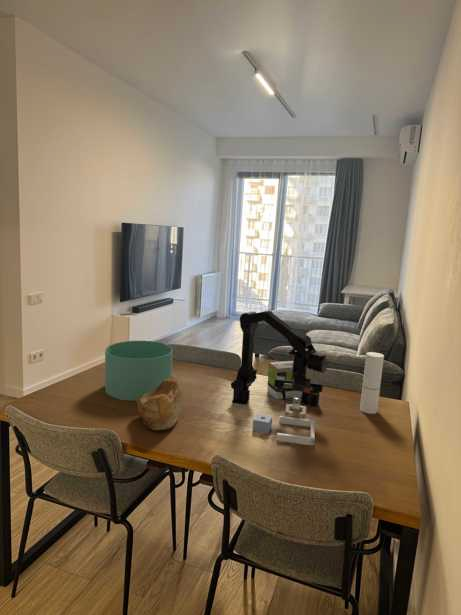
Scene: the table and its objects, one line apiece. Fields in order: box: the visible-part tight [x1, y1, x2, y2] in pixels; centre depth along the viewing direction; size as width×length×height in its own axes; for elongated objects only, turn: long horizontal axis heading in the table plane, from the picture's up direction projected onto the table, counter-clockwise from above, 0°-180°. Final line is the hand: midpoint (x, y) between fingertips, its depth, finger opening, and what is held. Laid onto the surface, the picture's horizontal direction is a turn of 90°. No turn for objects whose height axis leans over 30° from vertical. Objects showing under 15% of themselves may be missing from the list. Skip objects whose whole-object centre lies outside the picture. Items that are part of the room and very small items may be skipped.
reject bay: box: [276, 415, 316, 447], centre depth 158 cm, size 13×16×2 cm
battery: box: [300, 388, 321, 408], centre depth 185 cm, size 4×7×10 cm, turn 61°
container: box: [104, 340, 174, 402], centre depth 191 cm, size 30×30×19 cm
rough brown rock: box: [136, 375, 183, 431], centre depth 161 cm, size 23×17×15 cm
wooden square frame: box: [284, 403, 307, 419], centre depth 170 cm, size 8×8×4 cm
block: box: [252, 413, 273, 434], centre depth 159 cm, size 6×6×4 cm
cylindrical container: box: [359, 351, 385, 415], centre depth 181 cm, size 7×7×25 cm
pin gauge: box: [291, 397, 302, 412], centre depth 169 cm, size 3×3×8 cm
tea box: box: [266, 360, 302, 400], centre depth 194 cm, size 15×10×15 cm, turn 108°
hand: (296, 404), depth 169 cm, fingers open, 9 cm apart
